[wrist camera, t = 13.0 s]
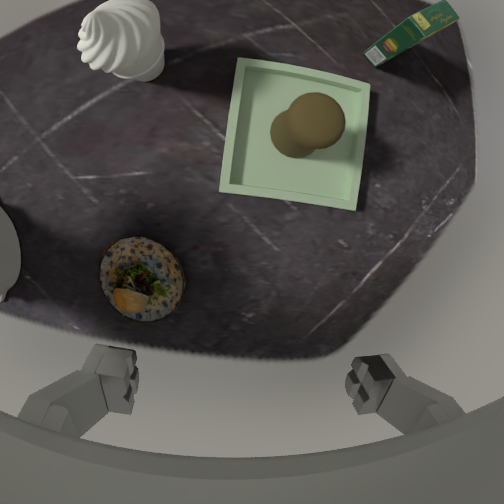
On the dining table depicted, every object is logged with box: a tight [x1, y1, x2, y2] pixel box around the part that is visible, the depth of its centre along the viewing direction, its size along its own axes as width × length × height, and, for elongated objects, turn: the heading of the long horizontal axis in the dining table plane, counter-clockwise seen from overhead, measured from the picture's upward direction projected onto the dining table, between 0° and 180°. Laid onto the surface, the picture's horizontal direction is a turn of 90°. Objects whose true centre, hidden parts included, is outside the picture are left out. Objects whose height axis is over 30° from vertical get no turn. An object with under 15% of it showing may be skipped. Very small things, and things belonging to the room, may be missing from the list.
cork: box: [270, 92, 346, 158], centre depth 27 cm, size 6×6×11 cm
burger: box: [98, 236, 187, 323], centre depth 34 cm, size 12×12×8 cm
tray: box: [219, 57, 370, 211], centre depth 32 cm, size 16×16×2 cm
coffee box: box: [363, 0, 459, 68], centre depth 24 cm, size 8×3×13 cm, turn 129°
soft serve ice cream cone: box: [77, 0, 165, 82], centre depth 22 cm, size 8×8×16 cm
